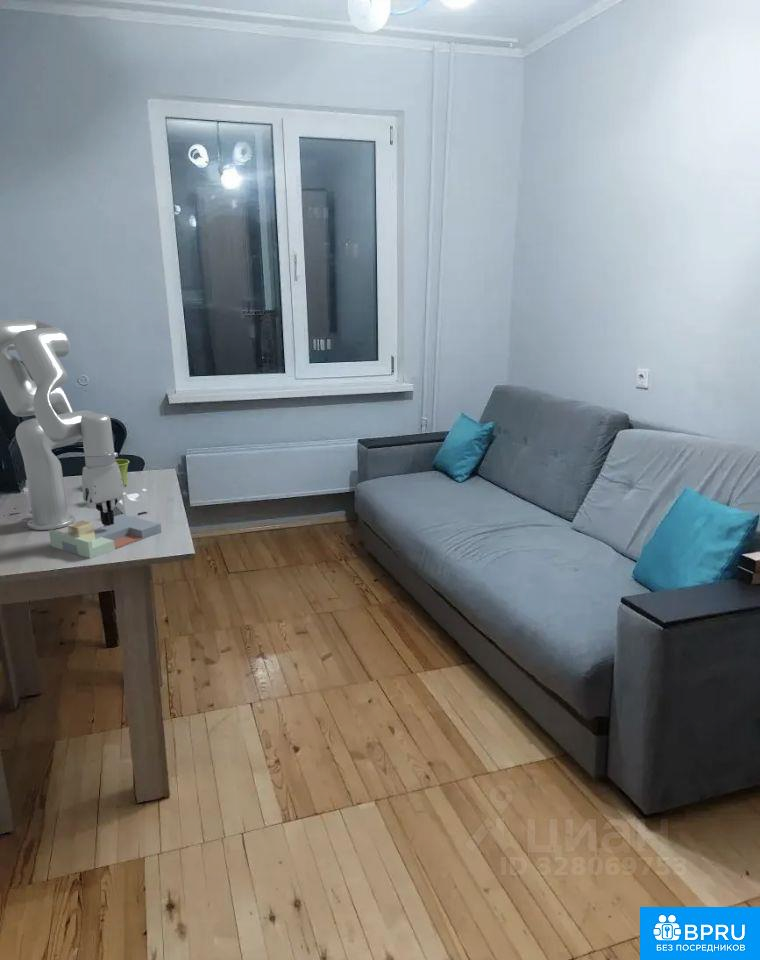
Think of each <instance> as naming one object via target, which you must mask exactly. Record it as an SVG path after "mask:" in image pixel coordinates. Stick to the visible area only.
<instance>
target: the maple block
mask: <svg viewBox="0 0 760 960" xmlns="http://www.w3.org/2000/svg"><path fill="white" fill-rule="evenodd" d="M94 526H95V525H94V523H93V522H90V521H86V520H80V521H77V522H73V523H71V524H70V525H67V530H68V531H67V532H69V534H70V535H73V536H76V537H80V538H83V539H86V540H90V541H92V540H95V533H94V530H95V527H94Z"/></svg>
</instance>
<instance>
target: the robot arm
mask: <svg viewBox="0 0 760 960" xmlns="http://www.w3.org/2000/svg"><path fill="white" fill-rule="evenodd" d="M9 351H16V353H17V355H18V356H19V358H20V360H21V361H20V360H19V358H17V357H16V356H14V355H13V354H11V353H10V352H9ZM70 351H71V343H70V339H69V338H68V335H67V334H66V333H65V332H64V331H63V330H62V329H61V328H59V327H57V326H54V325H52V324H50V323H47V322H44V321H41V320H39V319H35V318H17V319H0V392H1V395H2V397H3V399H4V401H5V403H6V405H7V408H8V409H9V411H10V412H11V414H12V415H14V416H16V417H21V418H22V417H30V416H35V417H34V418H29V419H26V420H23V421H22V422H21V423H19V424H18V426H17V427H16V429H15V439H16V443H17V444H18V447H19V449H20V453H21V457H22V460H23V464H24V470H25V471H24V473H25V477H26V482H27V483H26V484H27V489H28V490H27V491H28V496H29V502H30V509H28V513H29V514H31V517H32V518H31V519H29V521H28V522H27V527H28V528H29V529H31V530H36V531H49V530H52V529H53V530H56V529H60V528H63V527H68V525H70V524H73V523H75V519H76V518H75V516H74V515H73V514H71V513H69V510H68V504H67V497H66V488H65V482H64V476H63V475H64V474H63V469H62V464H61V463H62V462H61V461H60V459H59V458H58V457H57V456H56V455H55V454H54V453H53V452H52V450H55V449H57V448H62V447H66V446H69V445H74V444H75V443H77V442H78V441H79V440H82V446H83V452H84V461H85V466H83V467H82V475H81V487H82V488H81V491H82V497H83V501H84V502H86V508H88V509H96V511H98V512H99V514H100V522H101V524H102V525H103V526H104V525H107V526H110V525H113V524H114V516H115V514H114V510H115V509H116V506H115V505H116V504H117V502H118V501H120V500H122V499H123V493H124V492H125V491H124V487H123V482H122V476H121V472H120V469H119V466H118V463H117V462H115V459H116V458H118V457H119V454H118V452H116V451H115V446H114V438H113V436H114V435H113V430H112V420H111V418H110V416H109V415H107V414H104V413H96V412H94V411H91V410H89V409H88V410H86V409H85V410H84V409H83V410H78V411H77V410H76V411H73V408H72V405H71V403H70V401H69V399H68V396H67V395H66V392H65V390H64V389H63V387H62V386H64V384H65V383H66V382H67V380H68V373H67V371H66V369H65V367H64V366H63V364H62V363H61V361H60V359H59V358H63V357H66V356H68V355H69V353H70Z"/></svg>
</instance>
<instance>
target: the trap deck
mask: <svg viewBox="0 0 760 960" xmlns="http://www.w3.org/2000/svg"><path fill="white" fill-rule="evenodd" d="M48 532H49V533H48V534H49V539H50V540H49V541H50V545H51V547H53V548H56V549H60V550H63V551H65V552H69V553H71V554H75V555H78V556H81V557H84V558H86V559H94V558H96V557H98V556H101V555H104V554H106V553H109V552H112V551H114V550H117V548H118V549H120V548H123V547H125V545H126V546H128V545H130V543H131V544H133V542H134V543H136V542H138V540H139V541H142V540H145V539H147V538H150V537H152V536H155V535H157V534H159V533H162V526H161V523H159V522H154V521H151V520H146V519H144V518H139V517H136V516H128V515H124V514H122V513H121V514H118V515H114V524H113V525H110V526H107V525H104V524H103V526H102V527H100V528H96V529H94V533H95V540H92V541H90V540H86V539H83V538H80V537H76V536H73V535H70V534H69V532H68V531H65V532H63V531H59V530H56V529H50V530H48Z"/></svg>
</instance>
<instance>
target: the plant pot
mask: <svg viewBox="0 0 760 960" xmlns="http://www.w3.org/2000/svg"><path fill="white" fill-rule="evenodd" d="M115 462H117V463H118V466H119V469H120V472H121V476H122V482H123V488H124V487H126V486H127V482H128V466H129V464H130V460H128V459H123V458H115Z"/></svg>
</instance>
